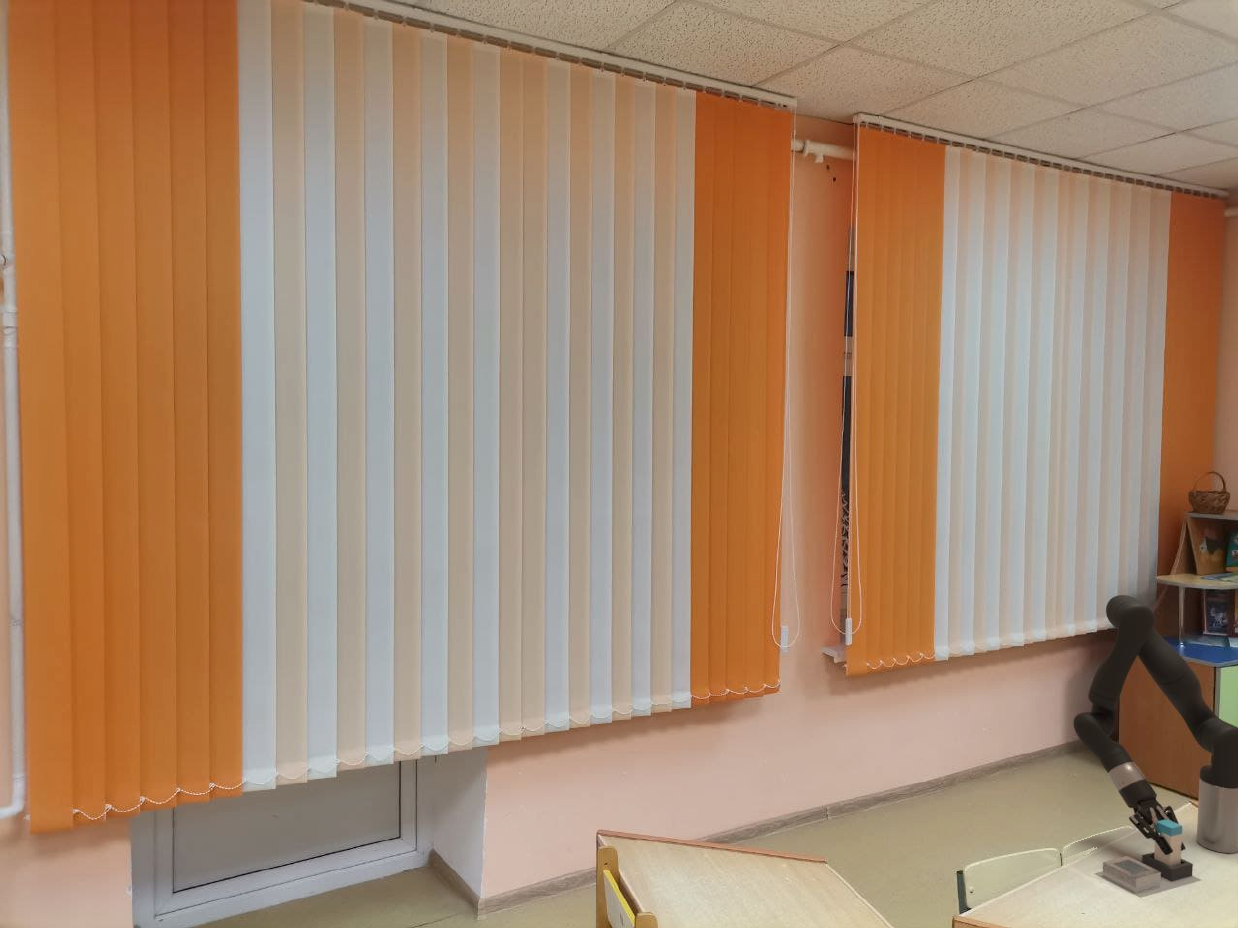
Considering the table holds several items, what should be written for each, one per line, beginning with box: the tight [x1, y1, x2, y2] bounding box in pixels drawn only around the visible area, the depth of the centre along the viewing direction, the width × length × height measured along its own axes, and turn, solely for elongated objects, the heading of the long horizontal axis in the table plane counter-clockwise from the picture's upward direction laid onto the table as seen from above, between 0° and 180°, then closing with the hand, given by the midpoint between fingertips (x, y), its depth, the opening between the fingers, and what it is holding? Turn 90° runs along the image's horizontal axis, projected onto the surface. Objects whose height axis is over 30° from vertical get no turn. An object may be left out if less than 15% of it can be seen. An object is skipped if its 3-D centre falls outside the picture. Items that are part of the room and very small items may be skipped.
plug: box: [1154, 819, 1183, 867], centre depth 218 cm, size 4×4×12 cm
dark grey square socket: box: [1141, 852, 1194, 882], centre depth 218 cm, size 8×8×3 cm
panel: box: [1094, 860, 1202, 899], centre depth 215 cm, size 22×12×1 cm, turn 114°
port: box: [1102, 855, 1161, 893], centre depth 213 cm, size 9×9×4 cm
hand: (1175, 851), depth 216 cm, fingers closed on plug, 4 cm apart
